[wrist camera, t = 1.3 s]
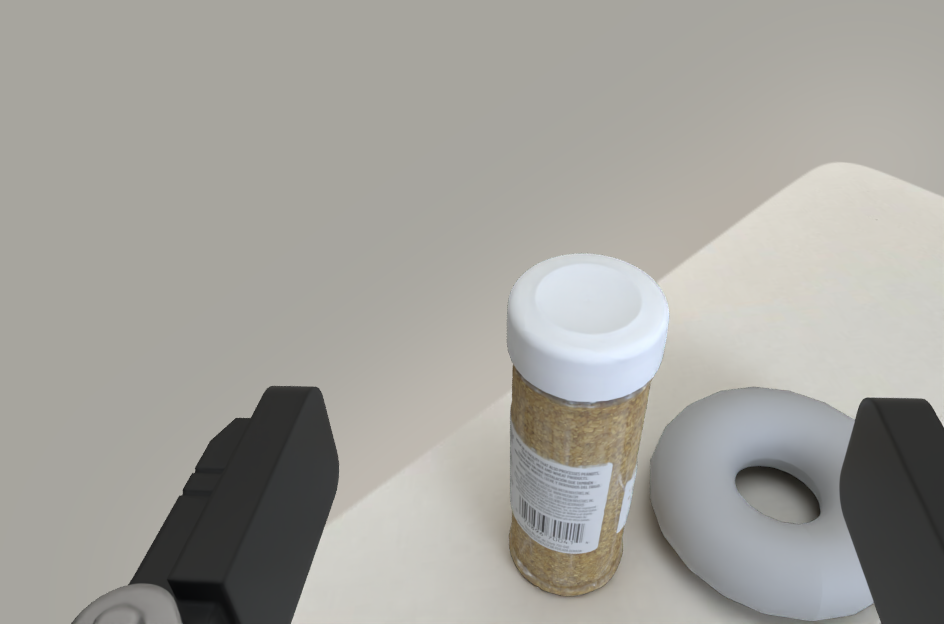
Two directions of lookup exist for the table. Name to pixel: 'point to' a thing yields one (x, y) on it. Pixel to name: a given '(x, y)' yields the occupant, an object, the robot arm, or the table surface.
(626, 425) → the sprinkles bottle
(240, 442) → the robot arm
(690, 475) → the donut
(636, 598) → the table surface
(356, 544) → the table surface
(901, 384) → the table surface
